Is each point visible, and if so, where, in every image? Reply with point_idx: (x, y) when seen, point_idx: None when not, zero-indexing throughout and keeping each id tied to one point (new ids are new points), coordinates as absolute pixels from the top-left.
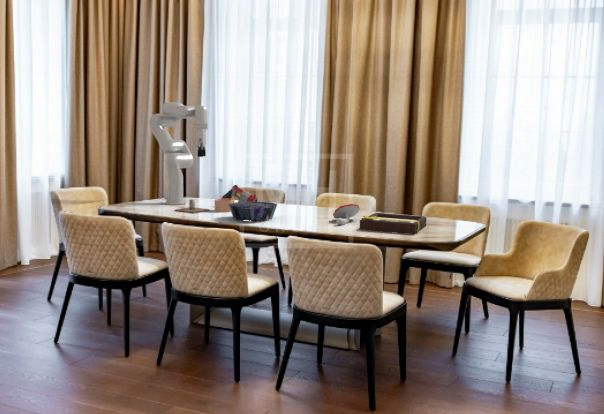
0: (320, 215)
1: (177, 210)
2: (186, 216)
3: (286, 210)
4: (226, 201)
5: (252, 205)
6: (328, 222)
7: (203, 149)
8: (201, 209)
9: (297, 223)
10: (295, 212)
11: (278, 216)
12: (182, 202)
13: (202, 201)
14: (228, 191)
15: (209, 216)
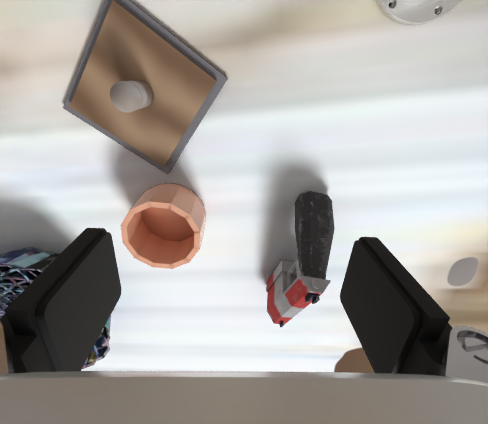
0: None
1: (106, 18)
2: (10, 82)
3: (228, 355)
4: (126, 244)
5: None
6: None
7: (402, 373)
8: (149, 135)
9: None
10: (196, 369)
11: (118, 340)
12: (399, 5)
13: (484, 106)
14: (310, 254)
15: (48, 172)
